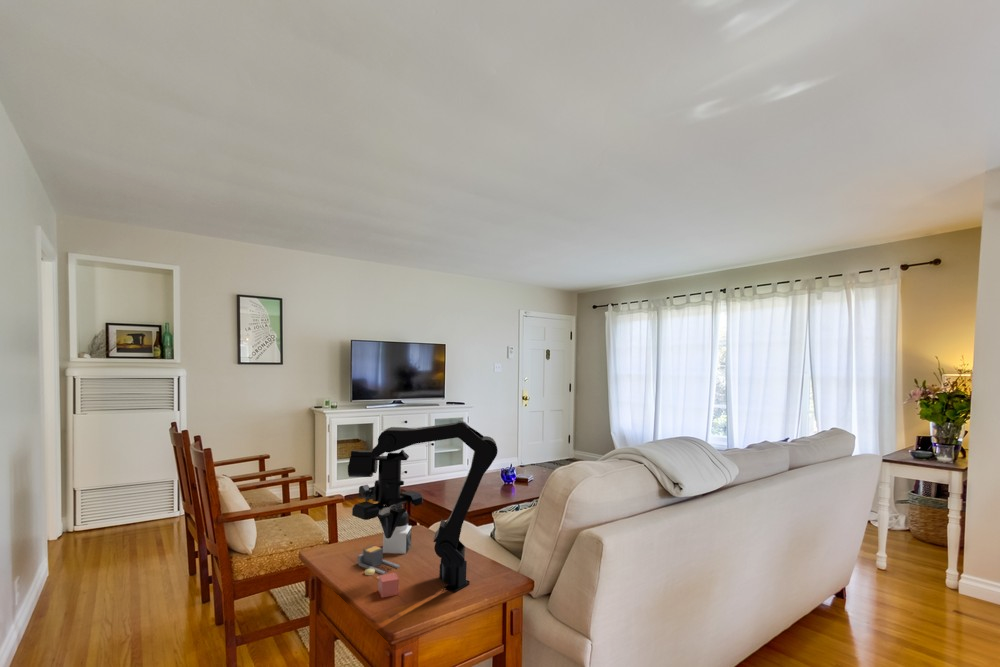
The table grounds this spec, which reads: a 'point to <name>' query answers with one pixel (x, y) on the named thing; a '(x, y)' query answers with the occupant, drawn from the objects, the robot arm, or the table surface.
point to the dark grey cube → (373, 556)
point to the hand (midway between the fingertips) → (388, 537)
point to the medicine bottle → (399, 537)
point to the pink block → (388, 585)
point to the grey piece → (372, 570)
